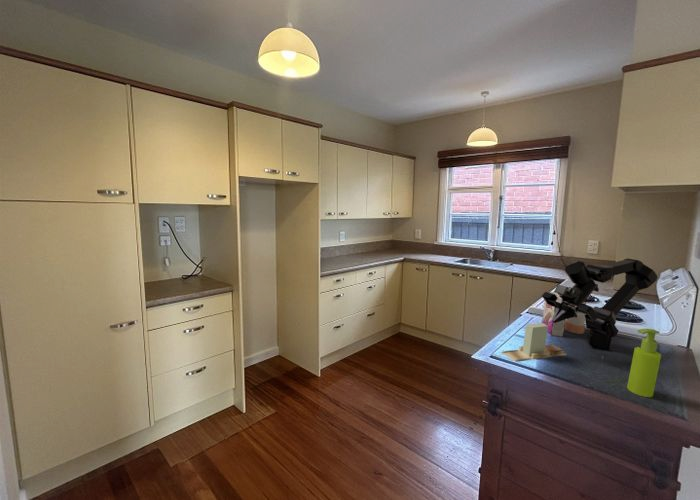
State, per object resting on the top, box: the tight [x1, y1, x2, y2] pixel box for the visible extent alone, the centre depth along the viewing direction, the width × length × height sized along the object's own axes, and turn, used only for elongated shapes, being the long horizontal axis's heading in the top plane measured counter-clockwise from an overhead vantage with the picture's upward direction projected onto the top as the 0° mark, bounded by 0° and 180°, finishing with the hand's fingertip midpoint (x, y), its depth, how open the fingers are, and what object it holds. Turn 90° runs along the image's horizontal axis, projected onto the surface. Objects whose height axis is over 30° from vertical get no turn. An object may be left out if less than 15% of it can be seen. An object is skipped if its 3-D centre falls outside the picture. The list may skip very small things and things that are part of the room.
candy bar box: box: [541, 291, 566, 338], centre depth 139 cm, size 11×5×16 cm, turn 168°
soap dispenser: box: [626, 328, 662, 398], centre depth 95 cm, size 6×7×20 cm
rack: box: [500, 344, 567, 363], centre depth 117 cm, size 24×7×2 cm, turn 106°
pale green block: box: [522, 322, 548, 356], centre depth 116 cm, size 7×3×11 cm, turn 106°
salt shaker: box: [564, 295, 590, 335], centre depth 140 cm, size 7×7×19 cm
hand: (553, 322), depth 117 cm, fingers closed
